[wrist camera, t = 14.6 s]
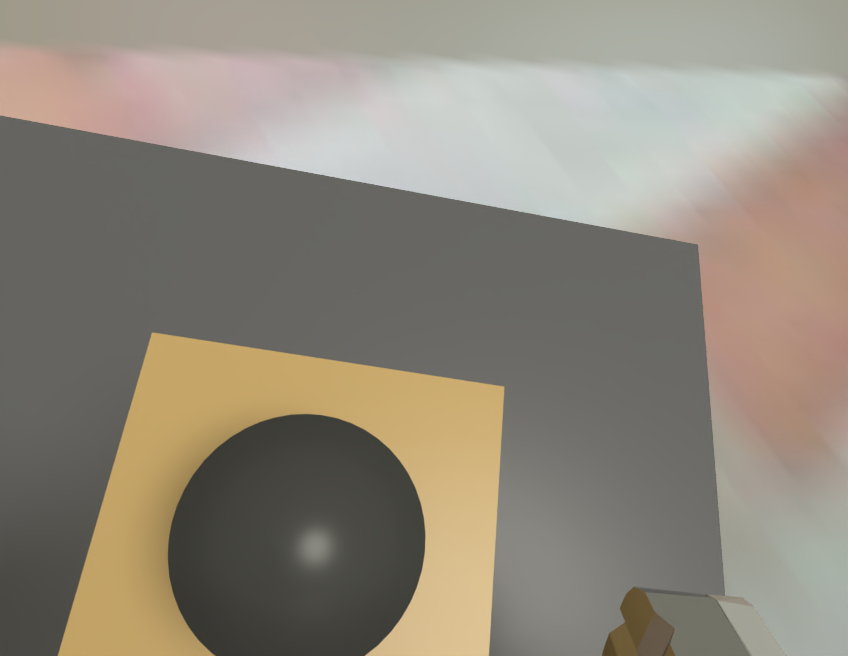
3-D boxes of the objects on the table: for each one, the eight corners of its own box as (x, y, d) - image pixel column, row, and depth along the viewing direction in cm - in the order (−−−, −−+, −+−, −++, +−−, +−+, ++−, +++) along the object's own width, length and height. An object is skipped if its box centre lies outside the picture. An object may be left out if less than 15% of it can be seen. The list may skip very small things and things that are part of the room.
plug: (371, 657, 16) (533, 865, 4) (209, 641, 15) (-71, 829, 4) (390, 496, 17) (549, 342, 6) (244, 476, 17) (113, 272, 6)
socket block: (681, 1105, 14) (775, 1237, 11) (-350, 1095, 11) (-561, 1262, 9) (647, 287, 21) (697, 244, 19) (26, 179, 19) (-21, 111, 16)
